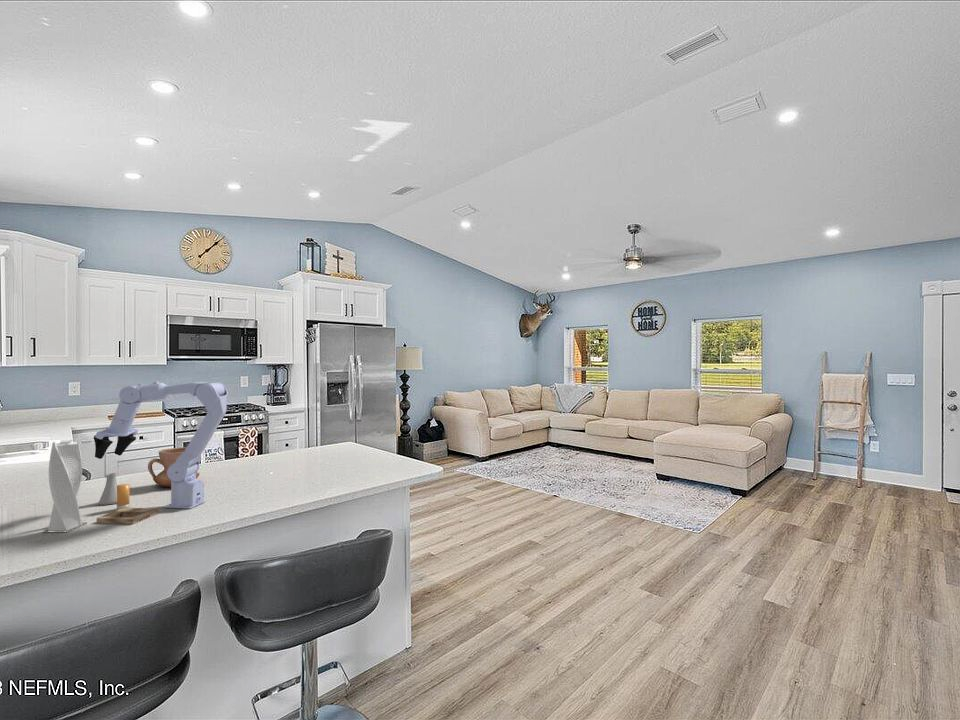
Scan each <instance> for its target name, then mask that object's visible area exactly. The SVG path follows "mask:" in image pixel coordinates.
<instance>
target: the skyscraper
mask: <svg viewBox="0 0 960 720" xmlns="http://www.w3.org/2000/svg"><path fill="white" fill-rule="evenodd" d="M80 441H81V440H80V435H79V434H77V435H76V436H75V440H74V441H73V439H65V440H60V441H59V442H58V443H56V442H55V441H53V442H52V445H51V450H50V455H49V462H48V483H49V484H48V485H49V490H50V493H51V497H52V500H53V501H52V502H53V505H52V511H51V515H50V521H49V524H48V528H46V529H44V530H43V531H66V532H65V533H68V532H67V531H69V532H71V531H70V530H72V529H74V530H76V529H78V528H80V527H79V526H81V527H83V526H85V525H87V524H88V522H86V521H85V522H84V521H82V518H81V514H80V508H79V503H78V499H77V496H78V494H79V492H80V491H79V490H80V487H81V484H82V483H81V482H82V477H83V456H82V450H81V445H80ZM86 523H87V524H86ZM84 524H85V525H84ZM82 525H83V526H82ZM77 527H78V528H77ZM75 528H76V529H75ZM72 531H73V530H72Z"/></svg>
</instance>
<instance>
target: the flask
mask: <svg viewBox="0 0 960 720" xmlns="http://www.w3.org/2000/svg"><path fill="white" fill-rule="evenodd" d="M117 475H118V473H117V472H111V473H106V474H105V477H106V481H105V482H106V483H105V486H104V488H103V491H102V494H101V496H100V498H99V501H98V503H97V506H98V505H99V506H100V505H101V506H108V505H115V504H116V505H117V486H118V485H119V484H118V482H117Z"/></svg>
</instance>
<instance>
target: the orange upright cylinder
mask: <svg viewBox="0 0 960 720" xmlns="http://www.w3.org/2000/svg"><path fill="white" fill-rule="evenodd" d="M117 485H118V486H117V503H116V510H119V509H121V508H130V493H131V492H130V490H131V487H130V485H131V484H129V483H122V484H117Z"/></svg>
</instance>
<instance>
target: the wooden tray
mask: <svg viewBox="0 0 960 720" xmlns="http://www.w3.org/2000/svg"><path fill="white" fill-rule="evenodd" d="M158 514H159V509H158V508H148V507H147V508H146V507H145V508H144V507H129V508H121V509H119V510H117V509H116V510H114V511H111V512H109V513H106V514H103V515H101V516H98V517H96V522H98V523H97V524H113V523H122V524H121V525H134V523H135V524H137V523H139V522H141V520H142V521H143V519H144V520H146V519H148V517H149V518H151V517H154V516H155V515H158ZM119 516H121V517H119ZM150 516H151V517H150ZM145 518H146V519H145ZM138 521H139V522H138ZM136 522H137V523H136Z"/></svg>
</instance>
